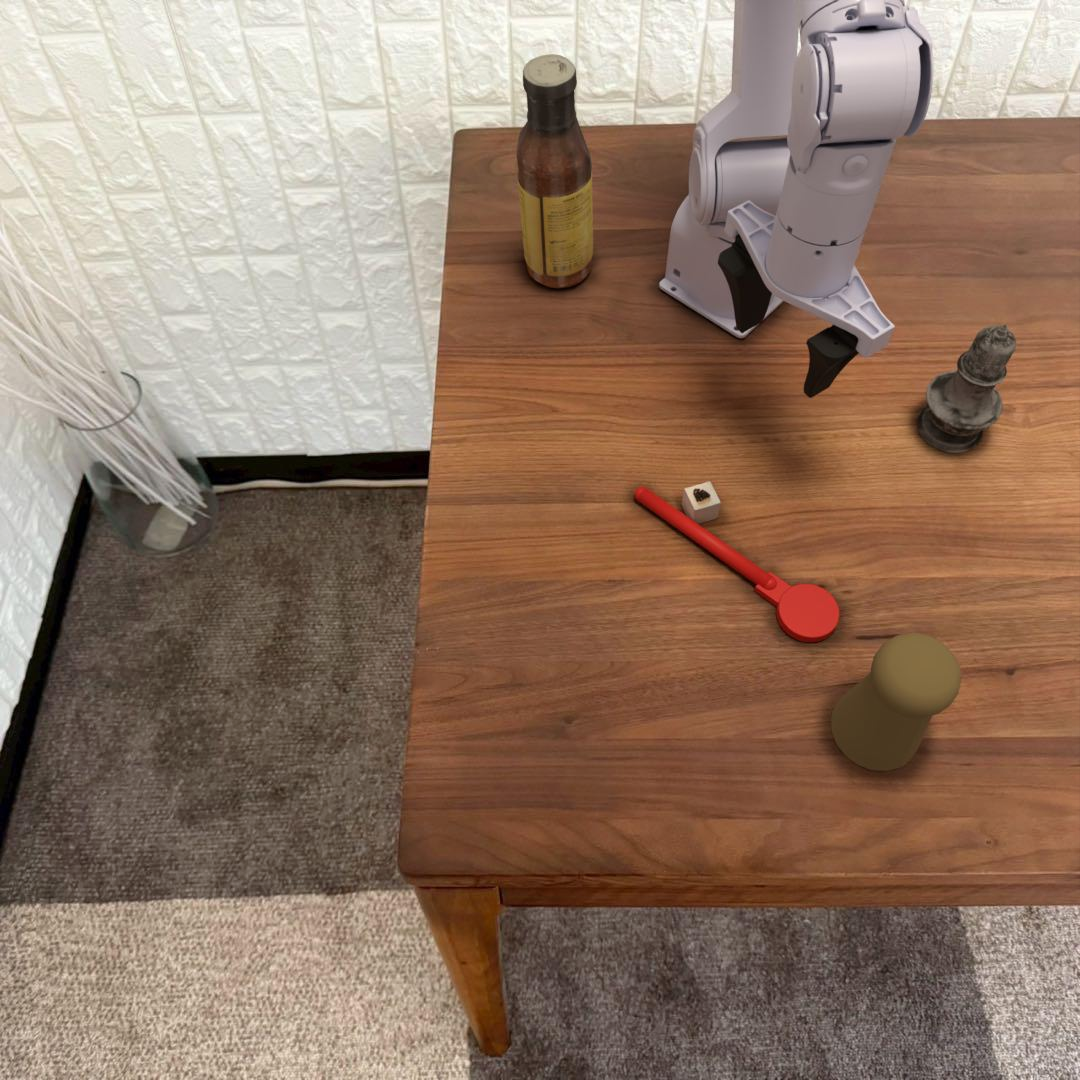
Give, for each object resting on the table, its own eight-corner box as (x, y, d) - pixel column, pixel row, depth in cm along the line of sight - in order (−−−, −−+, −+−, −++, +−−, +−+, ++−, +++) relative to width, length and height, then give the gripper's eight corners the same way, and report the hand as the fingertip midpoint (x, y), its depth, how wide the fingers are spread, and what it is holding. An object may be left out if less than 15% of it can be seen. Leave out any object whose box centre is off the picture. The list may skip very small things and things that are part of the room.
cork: (821, 691, 71) (861, 622, 62) (906, 684, 71) (959, 613, 62) (842, 775, 68) (887, 715, 59) (930, 767, 68) (990, 706, 59)
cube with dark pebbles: (691, 526, 78) (695, 508, 76) (681, 504, 79) (684, 486, 77) (717, 518, 79) (721, 500, 76) (706, 496, 80) (710, 478, 78)
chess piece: (986, 461, 81) (1049, 362, 71) (911, 449, 82) (962, 349, 71) (986, 404, 84) (1046, 301, 74) (913, 393, 85) (963, 289, 74)
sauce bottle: (603, 255, 93) (612, 56, 76) (575, 300, 91) (579, 105, 74) (538, 235, 95) (533, 35, 78) (509, 279, 92) (498, 82, 75)
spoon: (618, 512, 79) (618, 503, 78) (653, 477, 81) (654, 468, 80) (814, 654, 73) (818, 647, 72) (848, 613, 74) (852, 605, 73)
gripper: (951, 255, 62) (890, 394, 74) (793, 129, 69) (759, 276, 80) (867, 304, 60) (817, 439, 72) (712, 170, 67) (689, 315, 78)
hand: (782, 356), depth 76 cm, fingers open, 7 cm apart
